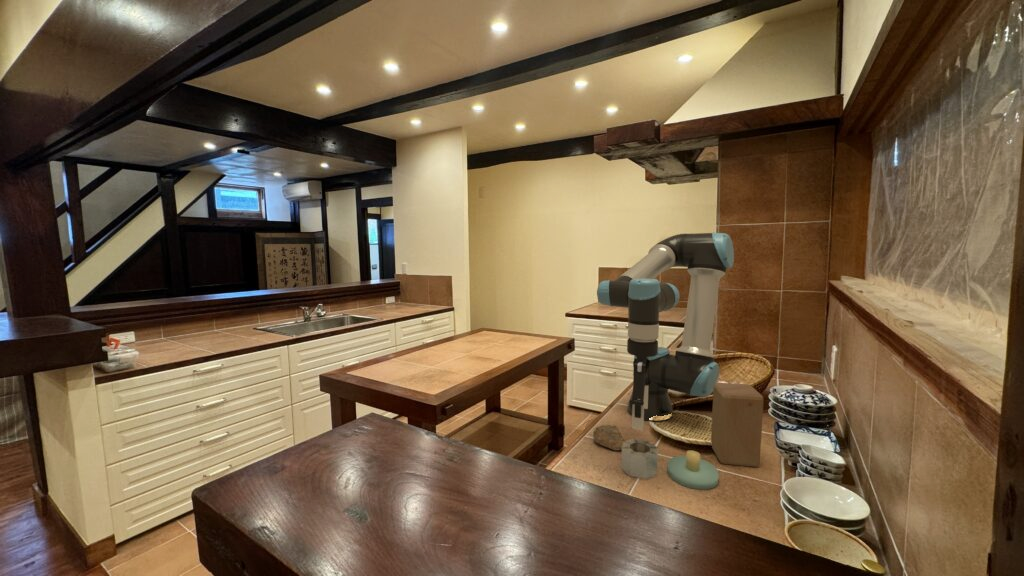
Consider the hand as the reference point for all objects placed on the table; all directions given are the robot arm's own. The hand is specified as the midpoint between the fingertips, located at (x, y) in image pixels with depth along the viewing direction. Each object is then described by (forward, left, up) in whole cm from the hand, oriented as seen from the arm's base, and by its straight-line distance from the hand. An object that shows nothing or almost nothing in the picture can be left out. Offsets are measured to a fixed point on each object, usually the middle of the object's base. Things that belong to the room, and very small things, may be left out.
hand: (640, 417), depth 104 cm
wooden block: (-16, +24, -15) cm, 33 cm away
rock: (-11, -9, -15) cm, 21 cm away
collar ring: (0, 0, -14) cm, 14 cm away
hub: (-2, +13, -14) cm, 20 cm away
